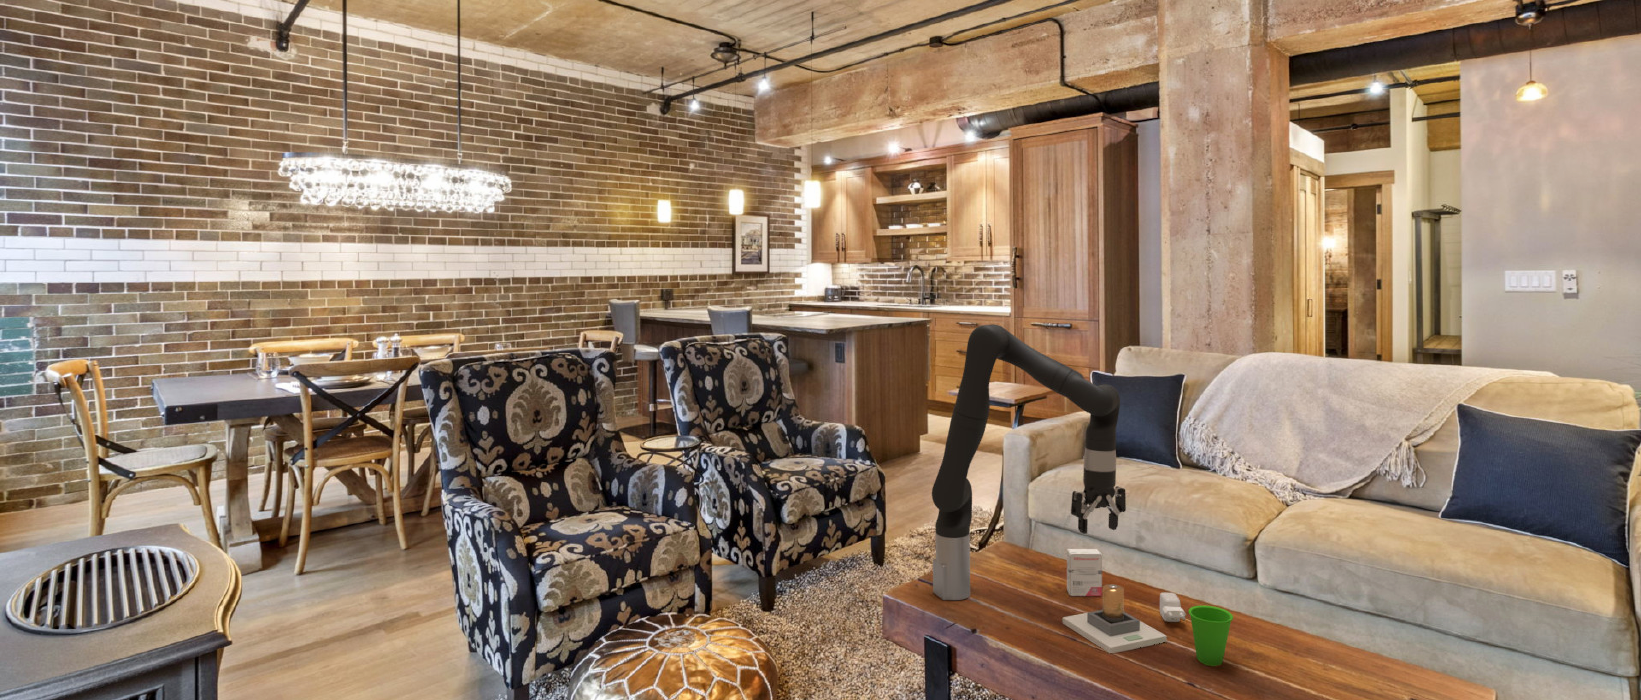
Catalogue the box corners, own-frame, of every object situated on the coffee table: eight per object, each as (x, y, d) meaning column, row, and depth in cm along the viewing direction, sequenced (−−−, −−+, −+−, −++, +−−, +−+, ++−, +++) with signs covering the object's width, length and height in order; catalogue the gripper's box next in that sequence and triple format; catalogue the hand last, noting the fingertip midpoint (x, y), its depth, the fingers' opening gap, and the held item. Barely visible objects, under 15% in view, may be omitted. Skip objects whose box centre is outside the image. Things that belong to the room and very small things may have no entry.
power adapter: (1189, 633, 199) (1189, 609, 199) (1167, 632, 200) (1168, 608, 199) (1176, 614, 210) (1177, 591, 210) (1156, 613, 211) (1157, 590, 210)
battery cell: (1111, 631, 197) (1111, 591, 196) (1098, 623, 202) (1098, 583, 201) (1127, 628, 199) (1128, 587, 198) (1114, 620, 203) (1114, 581, 202)
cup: (1229, 654, 188) (1230, 607, 187) (1234, 673, 179) (1236, 624, 178) (1185, 649, 191) (1186, 603, 190) (1189, 667, 182) (1190, 619, 181)
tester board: (1110, 653, 189) (1110, 637, 189) (1062, 623, 206) (1062, 607, 206) (1166, 642, 195) (1166, 625, 194) (1115, 613, 211) (1115, 597, 211)
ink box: (1098, 589, 227) (1098, 547, 226) (1102, 596, 222) (1103, 554, 221) (1066, 589, 228) (1066, 547, 227) (1069, 596, 223) (1069, 553, 222)
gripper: (1114, 460, 208) (1112, 523, 210) (1065, 465, 204) (1064, 529, 206) (1134, 467, 201) (1132, 532, 203) (1084, 472, 197) (1082, 538, 198)
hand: (1097, 530), depth 204 cm, fingers open, 8 cm apart
